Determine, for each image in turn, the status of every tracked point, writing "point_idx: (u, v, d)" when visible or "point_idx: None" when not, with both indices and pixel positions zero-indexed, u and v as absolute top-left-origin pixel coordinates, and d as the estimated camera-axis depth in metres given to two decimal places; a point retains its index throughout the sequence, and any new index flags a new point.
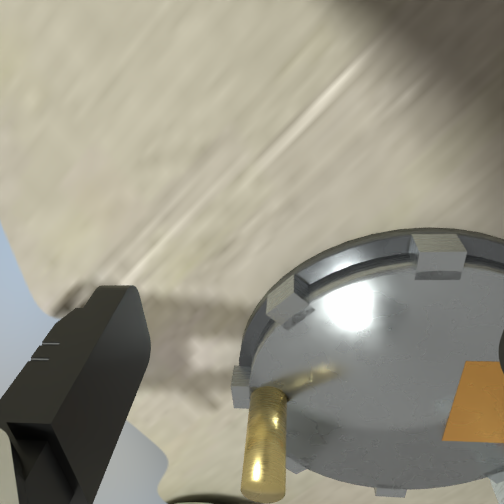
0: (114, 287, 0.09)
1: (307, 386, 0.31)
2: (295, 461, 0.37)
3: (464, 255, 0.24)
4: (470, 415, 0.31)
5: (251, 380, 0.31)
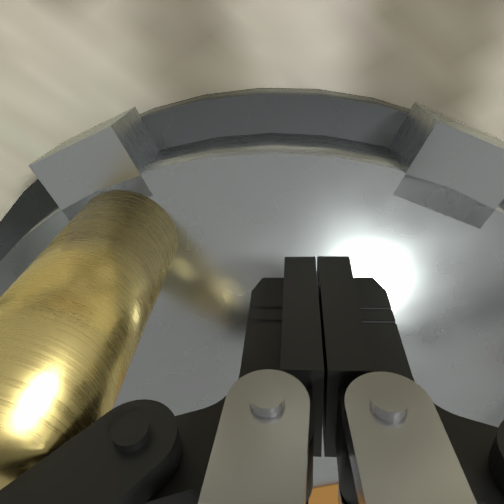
0: (301, 258, 0.09)
1: (223, 297, 0.13)
2: None
3: None
4: None
5: (167, 172, 0.11)
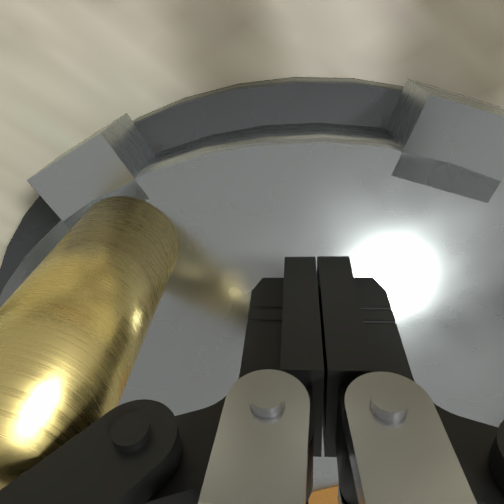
0: (301, 258, 0.09)
1: (231, 295, 0.13)
2: None
3: None
4: None
5: (161, 174, 0.11)
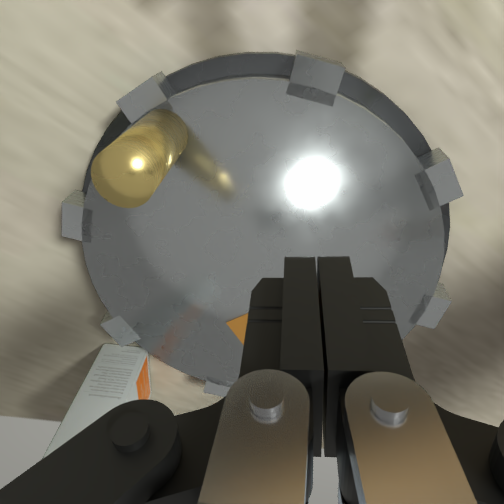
0: (301, 258, 0.09)
1: (214, 164, 0.25)
2: (81, 223, 0.28)
3: (456, 197, 0.25)
4: None
5: (179, 96, 0.23)
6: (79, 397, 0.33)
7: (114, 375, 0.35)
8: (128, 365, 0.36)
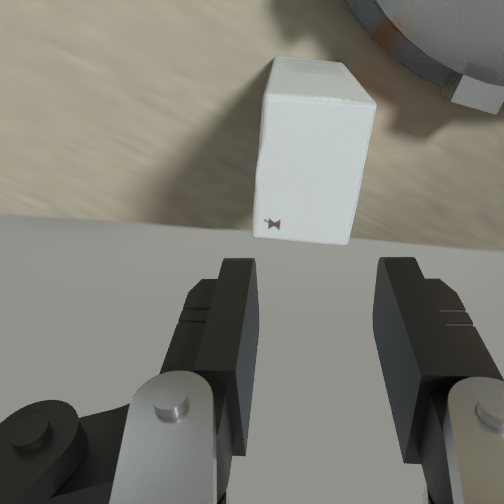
0: (239, 259, 0.10)
1: None
2: None
3: None
4: None
5: None
6: (278, 70, 0.20)
7: (316, 67, 0.22)
8: (328, 64, 0.23)
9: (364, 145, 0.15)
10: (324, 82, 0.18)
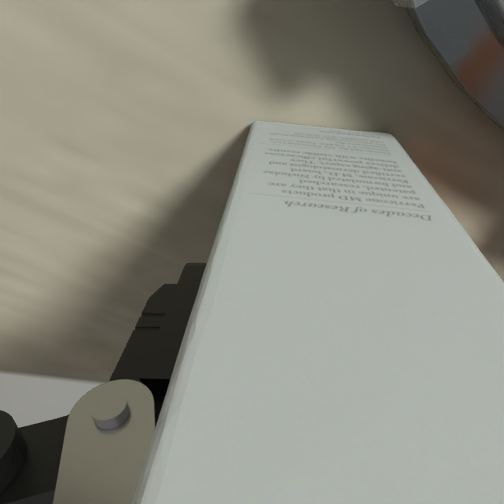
0: (201, 264, 0.09)
1: None
2: None
3: None
4: None
5: None
6: (247, 208, 0.07)
7: (346, 168, 0.09)
8: (370, 152, 0.10)
9: None
10: (401, 314, 0.05)
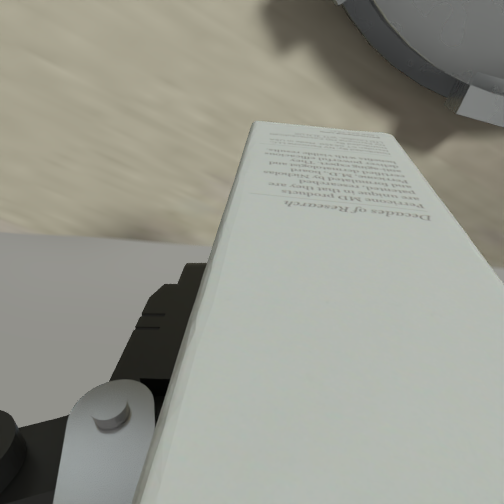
0: (201, 264, 0.09)
1: None
2: None
3: None
4: None
5: None
6: (247, 208, 0.07)
7: (346, 168, 0.09)
8: (369, 152, 0.10)
9: None
10: (400, 314, 0.05)
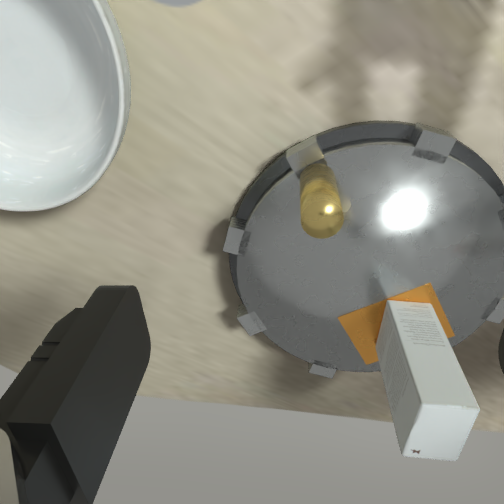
0: (114, 287, 0.09)
1: (350, 201, 0.34)
2: (240, 241, 0.37)
3: None
4: (375, 316, 0.40)
5: (333, 155, 0.33)
6: (406, 345, 0.34)
7: (422, 327, 0.36)
8: (427, 317, 0.37)
9: (472, 424, 0.29)
10: (441, 370, 0.32)
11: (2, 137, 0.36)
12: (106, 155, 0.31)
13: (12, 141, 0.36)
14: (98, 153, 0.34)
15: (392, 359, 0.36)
